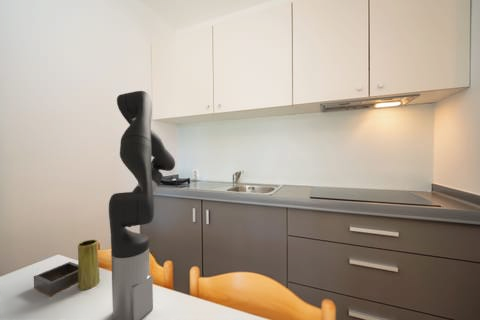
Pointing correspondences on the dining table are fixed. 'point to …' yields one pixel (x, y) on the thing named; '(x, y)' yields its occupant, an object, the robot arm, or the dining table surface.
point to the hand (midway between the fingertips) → (120, 224)
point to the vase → (88, 265)
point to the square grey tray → (57, 279)
